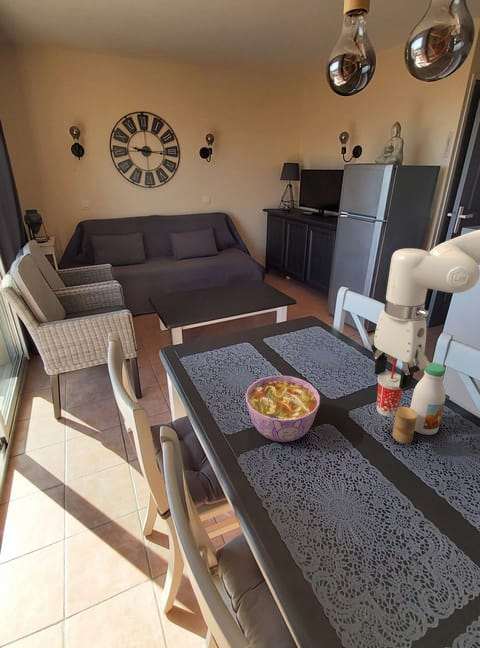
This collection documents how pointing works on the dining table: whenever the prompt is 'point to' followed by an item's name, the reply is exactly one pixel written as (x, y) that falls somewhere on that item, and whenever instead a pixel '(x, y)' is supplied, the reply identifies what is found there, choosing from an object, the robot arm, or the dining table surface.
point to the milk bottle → (429, 399)
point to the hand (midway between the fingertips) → (391, 378)
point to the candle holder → (404, 425)
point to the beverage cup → (388, 392)
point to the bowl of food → (282, 407)
